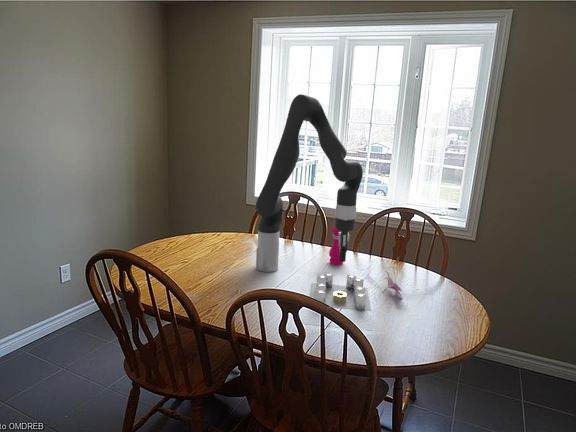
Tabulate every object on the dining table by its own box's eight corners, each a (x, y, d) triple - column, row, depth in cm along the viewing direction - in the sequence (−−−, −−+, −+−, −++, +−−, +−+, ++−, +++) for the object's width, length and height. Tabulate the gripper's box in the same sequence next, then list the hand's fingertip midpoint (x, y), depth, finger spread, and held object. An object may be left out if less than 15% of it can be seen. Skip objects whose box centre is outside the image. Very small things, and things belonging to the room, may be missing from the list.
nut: (333, 302, 146) (333, 296, 146) (333, 296, 152) (333, 290, 151) (346, 303, 146) (346, 297, 145) (345, 297, 151) (346, 291, 151)
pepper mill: (343, 266, 185) (347, 224, 180) (327, 264, 186) (330, 222, 182) (344, 261, 192) (348, 220, 187) (329, 259, 193) (332, 218, 188)
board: (305, 324, 132) (305, 321, 132) (311, 285, 163) (311, 282, 163) (374, 331, 130) (374, 328, 130) (366, 290, 161) (367, 287, 161)
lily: (398, 307, 149) (412, 285, 149) (370, 290, 152) (383, 268, 152) (397, 303, 161) (409, 283, 161) (371, 287, 164) (383, 267, 164)
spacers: (314, 306, 143) (315, 293, 141) (316, 283, 162) (317, 271, 161) (365, 311, 141) (366, 298, 140) (361, 287, 161) (362, 275, 160)
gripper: (335, 211, 156) (332, 254, 160) (335, 220, 143) (332, 266, 147) (354, 212, 155) (351, 256, 159) (356, 221, 142) (353, 268, 146)
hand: (342, 261), depth 153 cm, fingers closed
